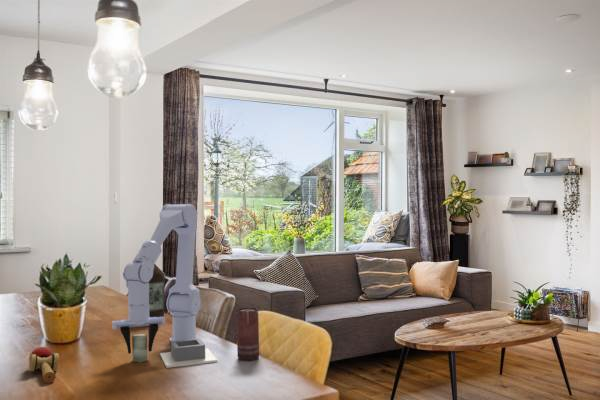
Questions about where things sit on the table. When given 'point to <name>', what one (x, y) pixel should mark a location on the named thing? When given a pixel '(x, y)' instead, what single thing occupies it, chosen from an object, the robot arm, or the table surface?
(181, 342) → the socket
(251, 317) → the can
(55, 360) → the kendama
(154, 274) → the olive oil
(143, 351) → the peg
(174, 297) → the robot arm
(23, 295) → the table surface
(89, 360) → the table surface
